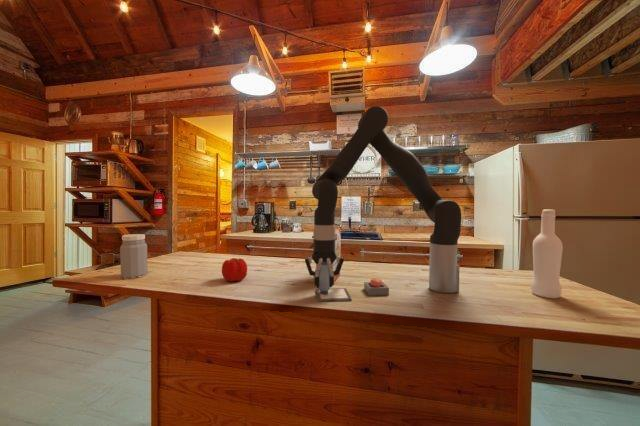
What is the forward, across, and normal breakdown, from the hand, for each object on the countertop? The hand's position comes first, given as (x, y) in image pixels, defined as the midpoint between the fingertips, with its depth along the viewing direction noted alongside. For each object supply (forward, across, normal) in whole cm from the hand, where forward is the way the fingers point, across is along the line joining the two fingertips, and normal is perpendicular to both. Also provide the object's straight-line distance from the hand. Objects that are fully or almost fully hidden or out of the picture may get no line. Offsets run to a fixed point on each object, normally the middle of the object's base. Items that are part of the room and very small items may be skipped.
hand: (324, 286), depth 90 cm
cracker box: (+3, -4, -19) cm, 20 cm away
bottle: (+3, -78, +5) cm, 78 cm away
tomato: (+3, +36, -20) cm, 41 cm away
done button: (+1, -19, -2) cm, 19 cm away
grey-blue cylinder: (+2, 0, 0) cm, 2 cm away
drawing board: (+3, -3, +1) cm, 4 cm away
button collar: (+3, -19, -2) cm, 19 cm away
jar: (+3, +80, -29) cm, 86 cm away
